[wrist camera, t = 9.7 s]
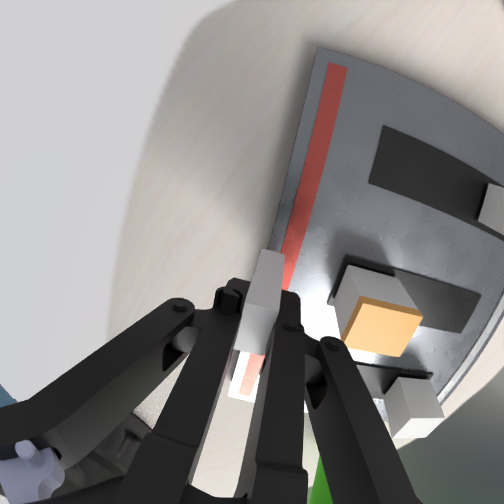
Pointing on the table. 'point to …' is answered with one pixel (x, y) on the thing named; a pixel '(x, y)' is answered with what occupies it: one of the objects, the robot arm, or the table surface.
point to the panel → (391, 219)
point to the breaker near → (493, 208)
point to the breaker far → (412, 408)
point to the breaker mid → (375, 312)
